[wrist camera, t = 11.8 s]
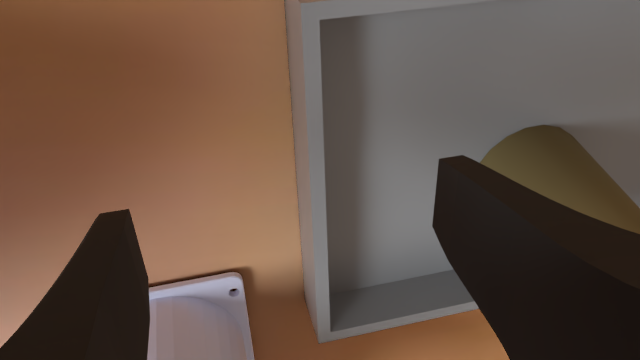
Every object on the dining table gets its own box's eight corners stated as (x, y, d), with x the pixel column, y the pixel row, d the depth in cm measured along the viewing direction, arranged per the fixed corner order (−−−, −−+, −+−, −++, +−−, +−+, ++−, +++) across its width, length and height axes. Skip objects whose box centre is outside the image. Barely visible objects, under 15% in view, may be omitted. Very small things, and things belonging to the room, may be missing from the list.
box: (670, 225, 33) (711, 257, 31) (304, 299, 29) (318, 343, 27) (782, -68, 24) (852, -55, 22) (282, -20, 20) (300, 3, 18)
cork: (576, 209, 30) (762, 378, 21) (470, 245, 29) (614, 435, 20) (585, 108, 26) (812, 260, 17) (464, 147, 26) (635, 325, 17)
